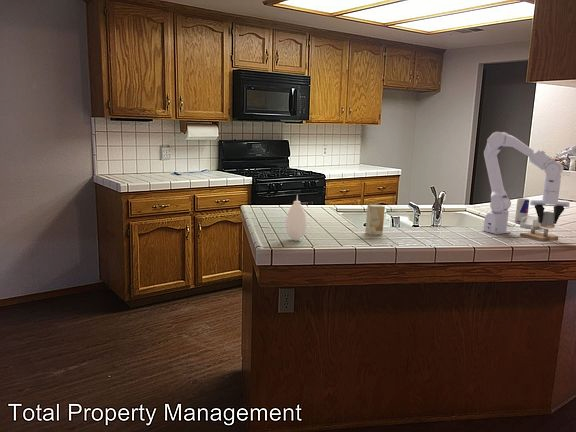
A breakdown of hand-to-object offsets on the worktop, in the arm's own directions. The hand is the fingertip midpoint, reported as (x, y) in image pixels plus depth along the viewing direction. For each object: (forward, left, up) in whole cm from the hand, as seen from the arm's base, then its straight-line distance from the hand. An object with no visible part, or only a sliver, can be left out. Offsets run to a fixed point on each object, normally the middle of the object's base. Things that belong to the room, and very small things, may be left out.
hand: (547, 223), depth 199 cm
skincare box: (-65, +32, -7) cm, 73 cm away
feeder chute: (+17, +21, -7) cm, 28 cm away
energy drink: (+22, +30, -7) cm, 37 cm away
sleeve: (0, 0, -2) cm, 2 cm away
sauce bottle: (-102, +32, -7) cm, 107 cm away
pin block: (0, +3, -7) cm, 8 cm away
